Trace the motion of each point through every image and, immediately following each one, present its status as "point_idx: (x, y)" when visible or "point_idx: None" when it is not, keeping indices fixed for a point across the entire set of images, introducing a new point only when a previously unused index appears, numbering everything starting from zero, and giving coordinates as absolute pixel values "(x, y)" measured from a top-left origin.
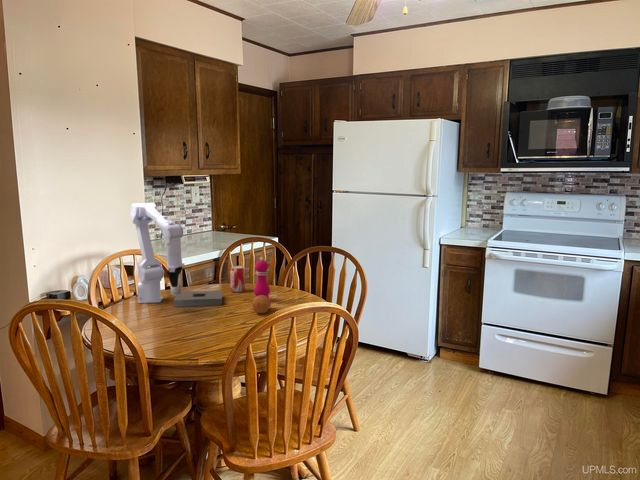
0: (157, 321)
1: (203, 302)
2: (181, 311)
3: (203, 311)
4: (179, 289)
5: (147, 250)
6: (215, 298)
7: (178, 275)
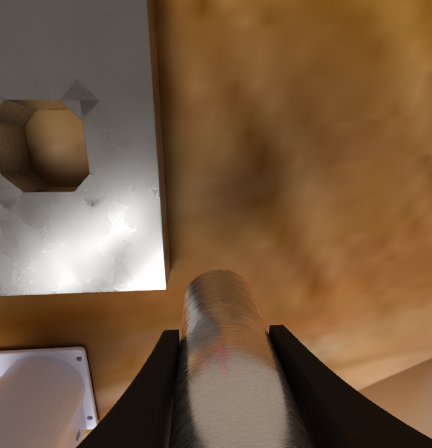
0: (378, 300)
1: (158, 111)
2: (252, 225)
3: (275, 107)
4: (240, 291)
5: None
6: (140, 5)
7: (413, 428)
